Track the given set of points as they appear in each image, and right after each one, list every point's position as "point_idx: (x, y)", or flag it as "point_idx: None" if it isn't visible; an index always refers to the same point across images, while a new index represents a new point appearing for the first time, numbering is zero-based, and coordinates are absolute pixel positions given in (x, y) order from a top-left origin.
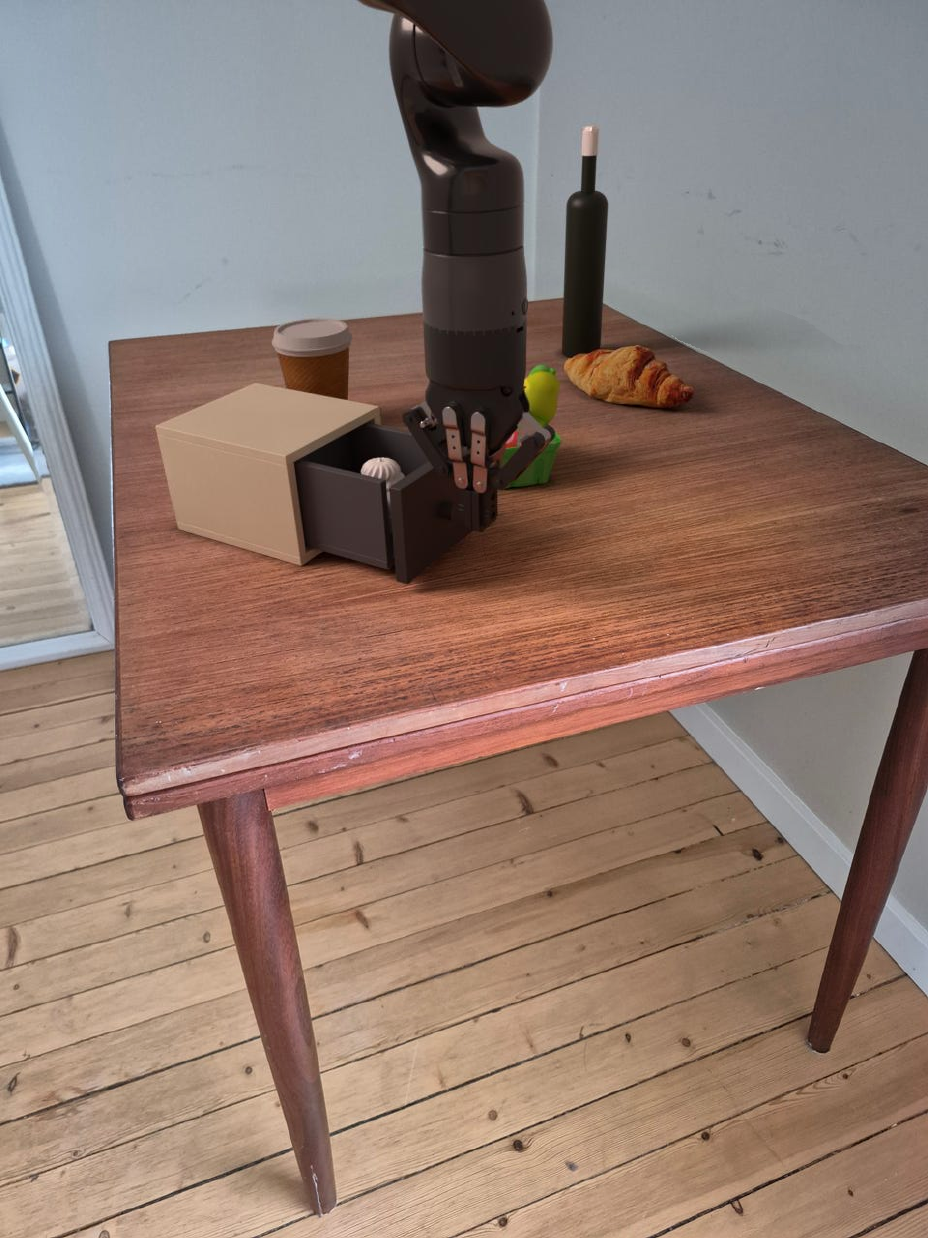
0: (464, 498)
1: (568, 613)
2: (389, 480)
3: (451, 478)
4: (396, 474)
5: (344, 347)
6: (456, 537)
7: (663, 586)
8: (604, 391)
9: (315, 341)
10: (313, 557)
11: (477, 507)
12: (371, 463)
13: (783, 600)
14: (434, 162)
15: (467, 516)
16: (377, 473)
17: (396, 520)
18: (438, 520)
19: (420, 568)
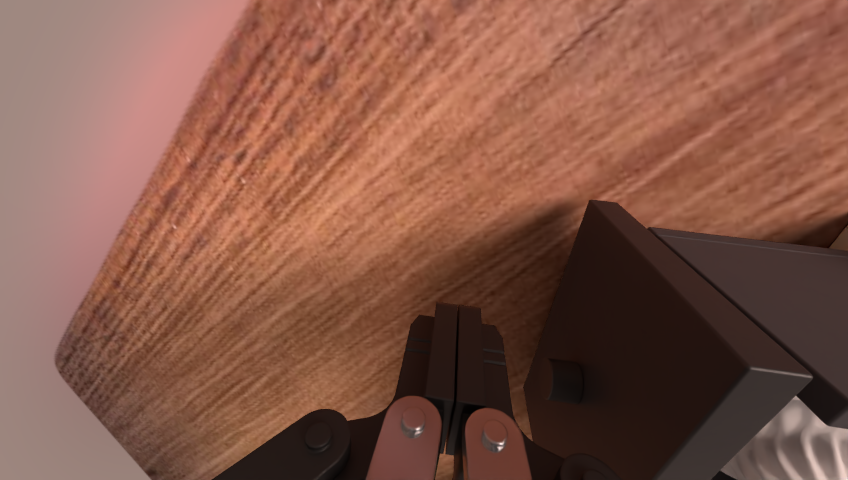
0: (481, 377)
1: (309, 230)
2: (763, 442)
3: (546, 450)
4: (748, 465)
5: None
6: (543, 346)
7: (245, 322)
8: None
9: None
10: (831, 245)
11: (434, 352)
12: None
13: (129, 330)
14: None
15: (470, 330)
16: (824, 462)
17: (691, 281)
18: (577, 352)
19: (578, 246)
